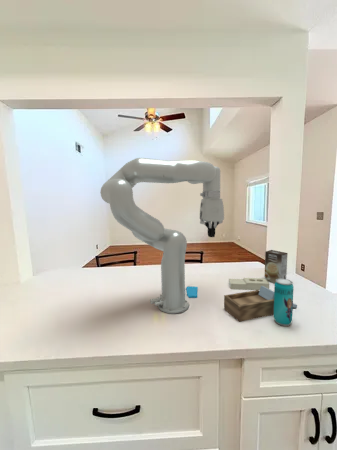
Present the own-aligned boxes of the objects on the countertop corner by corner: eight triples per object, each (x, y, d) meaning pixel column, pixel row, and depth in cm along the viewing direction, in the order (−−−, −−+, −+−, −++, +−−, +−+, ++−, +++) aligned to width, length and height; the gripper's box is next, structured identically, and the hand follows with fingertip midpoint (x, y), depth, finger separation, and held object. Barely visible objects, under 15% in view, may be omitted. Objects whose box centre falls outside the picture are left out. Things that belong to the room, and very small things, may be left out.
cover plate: (271, 302, 81) (274, 292, 81) (258, 294, 88) (261, 285, 88) (296, 308, 85) (299, 298, 85) (282, 300, 92) (284, 291, 92)
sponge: (183, 296, 96) (196, 295, 95) (186, 286, 108) (197, 285, 107) (184, 299, 97) (197, 298, 96) (186, 289, 108) (198, 288, 107)
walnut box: (239, 321, 76) (239, 306, 76) (224, 308, 86) (224, 295, 85) (275, 314, 81) (276, 300, 80) (257, 302, 90) (257, 290, 90)
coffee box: (263, 280, 116) (264, 251, 115) (270, 277, 120) (271, 249, 118) (280, 285, 109) (281, 254, 107) (286, 282, 112) (288, 252, 111)
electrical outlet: (228, 276, 112) (265, 278, 109) (228, 284, 112) (264, 285, 110) (230, 281, 105) (269, 283, 102) (230, 289, 105) (269, 291, 103)
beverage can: (284, 328, 71) (285, 285, 70) (269, 320, 77) (270, 279, 75) (295, 324, 74) (297, 282, 72) (281, 316, 79) (282, 277, 77)
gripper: (199, 195, 89) (199, 239, 91) (231, 195, 93) (230, 237, 95) (192, 196, 96) (192, 236, 98) (221, 195, 100) (221, 234, 102)
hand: (211, 236), depth 96 cm, fingers closed
